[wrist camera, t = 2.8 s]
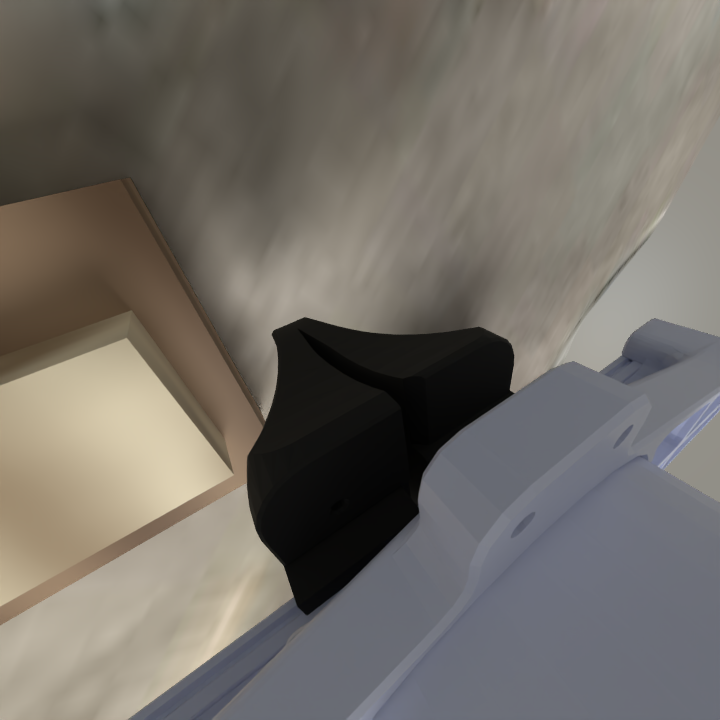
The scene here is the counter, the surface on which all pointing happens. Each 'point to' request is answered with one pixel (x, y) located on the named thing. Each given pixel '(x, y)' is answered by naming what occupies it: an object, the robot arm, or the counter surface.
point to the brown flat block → (105, 300)
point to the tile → (94, 447)
